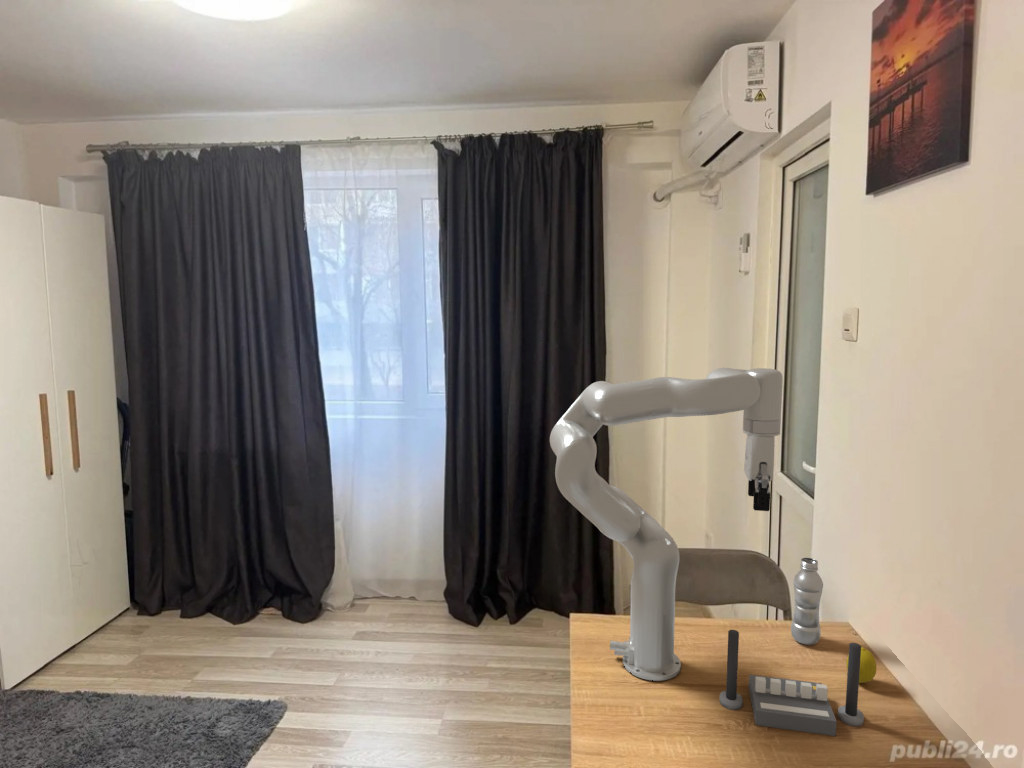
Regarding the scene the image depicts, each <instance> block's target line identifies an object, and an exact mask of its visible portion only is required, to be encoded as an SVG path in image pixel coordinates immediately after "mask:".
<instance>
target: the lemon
mask: <svg viewBox="0 0 1024 768" xmlns="http://www.w3.org/2000/svg"><path fill="white" fill-rule="evenodd" d="M848 658H849V653H848V655H847V658H846V670H847V671H848ZM876 673H877V661H876V658H875V656H874V654H873V653H872V652H871V651H870V650H868V649H866V648H865V647H864V646H861V658H860V673H859V684H863V683H869V682H871V681H872V680H873V679H874V678H875V676H876Z"/></svg>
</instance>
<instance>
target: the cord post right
mask: <svg viewBox="0 0 1024 768" xmlns="http://www.w3.org/2000/svg"><path fill="white" fill-rule="evenodd" d="M848 645H849V647H848V654H849V658H848V670H847V675H846V676H847V677H846V690H845V705H841V706H839V707H838V711H837V717H838V719H839V720H840V721H841V722H842V723H843V724H846V725H848V726H851V727H860V726H863V725H864V720H865V719H864V718H865V715H864V713H863V712H862V711H861V710H860V709H858V703H859V687H860V683H859V673H860V658H861V647H862V646H861V645H860V643H856V642H850V643H848Z"/></svg>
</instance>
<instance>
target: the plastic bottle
mask: <svg viewBox="0 0 1024 768" xmlns="http://www.w3.org/2000/svg"><path fill="white" fill-rule="evenodd" d="M818 562H819V561H818V560H816V559H815V558H811V557H802V558H801V559H800V564H799V566H800V567H799V568H800V570H799V571H798V572H797V573H796V574H795V575H794V578H793V590H794V611H793V617H792V618H793V619H792V621H791V625H790V632H791V636H792V638H793V639H794V640H795V641H796V642H797V643H800V644H803V645H808V646H813V645H816V644H817V643H818V642H819V641H820V639H821V625H820V604H821V598H822V593H823V589H824V582H823V580H822V577H821V575H820V574H819V573H818V570H819V567H818V565H819V563H818Z"/></svg>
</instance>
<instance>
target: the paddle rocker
mask: <svg viewBox="0 0 1024 768" xmlns="http://www.w3.org/2000/svg"><path fill="white" fill-rule="evenodd" d="M755 691H756V692H760V693H765V692H766V693H771V694H775V695H786V696H791V697H796V696H797V697H801V698H806V699H811V698H813V699H817V700H822V701H827V698H828V692H829V691H828V686H827V684H823V683H822V684H816V695H812V685H811V683H805V682H801V688H800V693H796V682H795V681H789V680H786V681H785V691H781V681H780V679H773V678H770V689H766V679H765V677H756V676H755Z"/></svg>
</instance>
